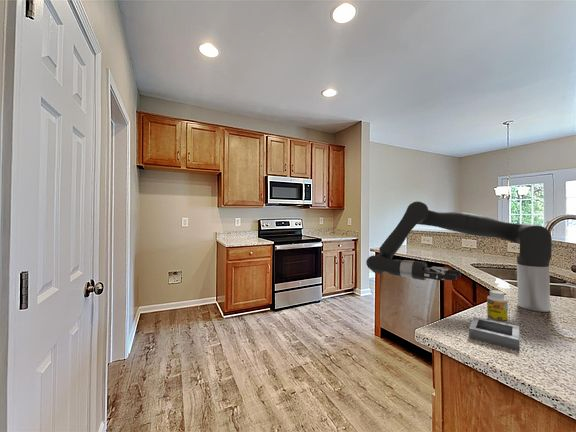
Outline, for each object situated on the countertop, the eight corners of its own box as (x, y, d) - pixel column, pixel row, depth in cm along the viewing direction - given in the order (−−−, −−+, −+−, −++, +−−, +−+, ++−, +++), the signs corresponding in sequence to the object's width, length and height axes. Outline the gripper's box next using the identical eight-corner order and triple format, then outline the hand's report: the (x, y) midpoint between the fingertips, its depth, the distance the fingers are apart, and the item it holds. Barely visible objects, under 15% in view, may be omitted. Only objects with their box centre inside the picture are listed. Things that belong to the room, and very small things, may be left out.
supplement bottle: (483, 318, 91) (483, 290, 91) (493, 316, 93) (492, 288, 93) (502, 324, 86) (501, 295, 86) (511, 321, 88) (510, 292, 88)
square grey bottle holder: (473, 325, 86) (473, 316, 86) (519, 335, 78) (519, 326, 78) (469, 337, 77) (469, 328, 77) (519, 350, 69) (519, 340, 69)
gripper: (408, 263, 103) (455, 269, 92) (418, 258, 113) (461, 263, 102) (408, 281, 103) (455, 289, 92) (418, 275, 113) (461, 281, 102)
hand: (458, 275), depth 97 cm, fingers open, 8 cm apart
